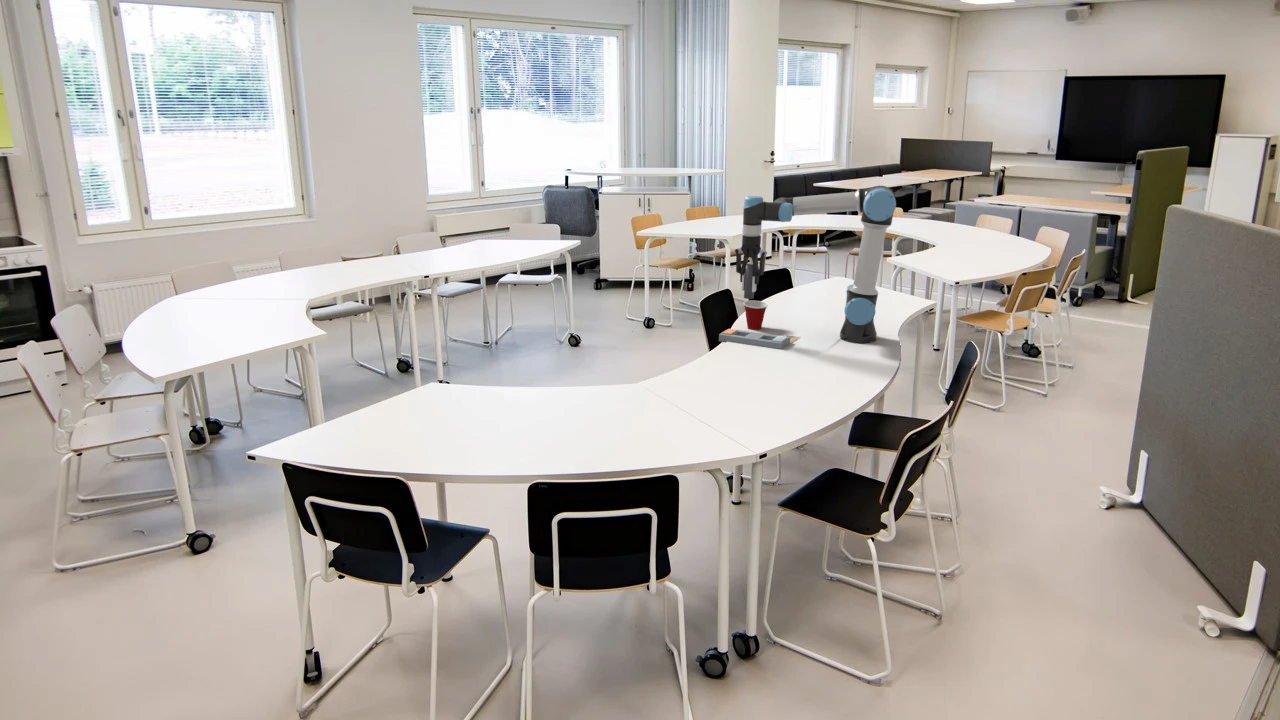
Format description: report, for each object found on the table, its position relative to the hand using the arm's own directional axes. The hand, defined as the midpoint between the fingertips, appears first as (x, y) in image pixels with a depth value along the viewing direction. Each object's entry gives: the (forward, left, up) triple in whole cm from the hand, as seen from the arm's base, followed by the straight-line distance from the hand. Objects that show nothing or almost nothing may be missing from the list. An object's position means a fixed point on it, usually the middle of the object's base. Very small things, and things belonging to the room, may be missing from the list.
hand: (748, 290), depth 343 cm
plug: (0, 0, -3) cm, 3 cm away
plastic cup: (+4, -17, -22) cm, 28 cm away
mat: (-14, -8, -22) cm, 27 cm away
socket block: (-4, +2, -22) cm, 22 cm away
